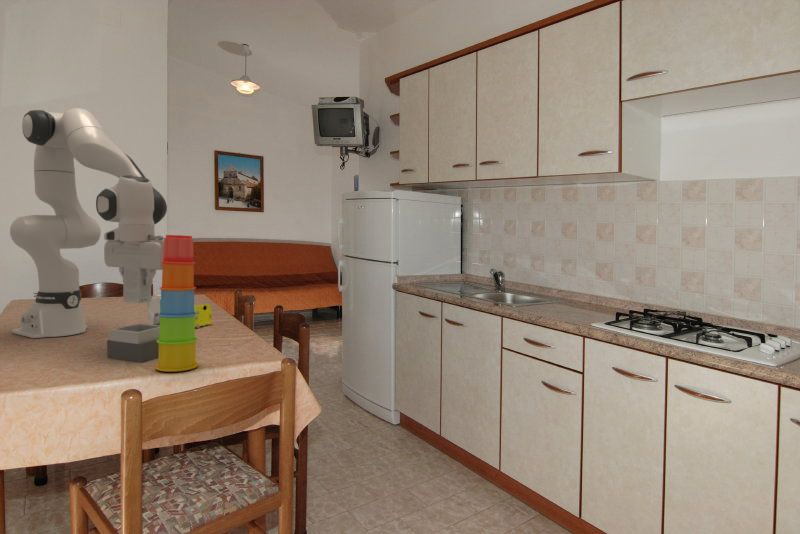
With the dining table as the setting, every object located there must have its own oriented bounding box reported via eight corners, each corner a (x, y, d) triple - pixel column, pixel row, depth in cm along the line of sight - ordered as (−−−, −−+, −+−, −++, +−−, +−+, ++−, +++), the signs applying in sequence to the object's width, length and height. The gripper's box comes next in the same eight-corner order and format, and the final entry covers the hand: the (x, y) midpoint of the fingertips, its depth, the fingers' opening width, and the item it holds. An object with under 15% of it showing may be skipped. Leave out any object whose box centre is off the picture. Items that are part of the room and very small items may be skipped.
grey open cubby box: (107, 360, 139) (106, 329, 139) (137, 352, 149) (136, 323, 148) (141, 365, 136) (140, 333, 135) (169, 356, 145) (169, 326, 144)
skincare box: (151, 302, 142) (152, 259, 141) (139, 303, 138) (140, 259, 137) (134, 300, 144) (135, 258, 143) (122, 301, 140) (122, 258, 139)
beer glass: (163, 348, 151) (162, 299, 149) (142, 347, 152) (142, 297, 151) (177, 343, 157) (177, 296, 156) (158, 342, 159) (157, 294, 158)
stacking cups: (148, 367, 131) (146, 234, 128) (187, 360, 139) (186, 234, 136) (166, 376, 124) (164, 235, 122) (205, 367, 132) (204, 235, 129)
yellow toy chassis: (178, 333, 173) (177, 309, 172) (165, 331, 175) (165, 308, 174) (212, 325, 187) (212, 303, 187) (201, 324, 189) (200, 302, 189)
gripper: (175, 235, 139) (176, 285, 140) (118, 233, 146) (119, 281, 147) (157, 236, 133) (158, 288, 134) (99, 233, 140) (100, 283, 141)
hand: (137, 284), depth 141 cm, fingers closed on skincare box, 6 cm apart
